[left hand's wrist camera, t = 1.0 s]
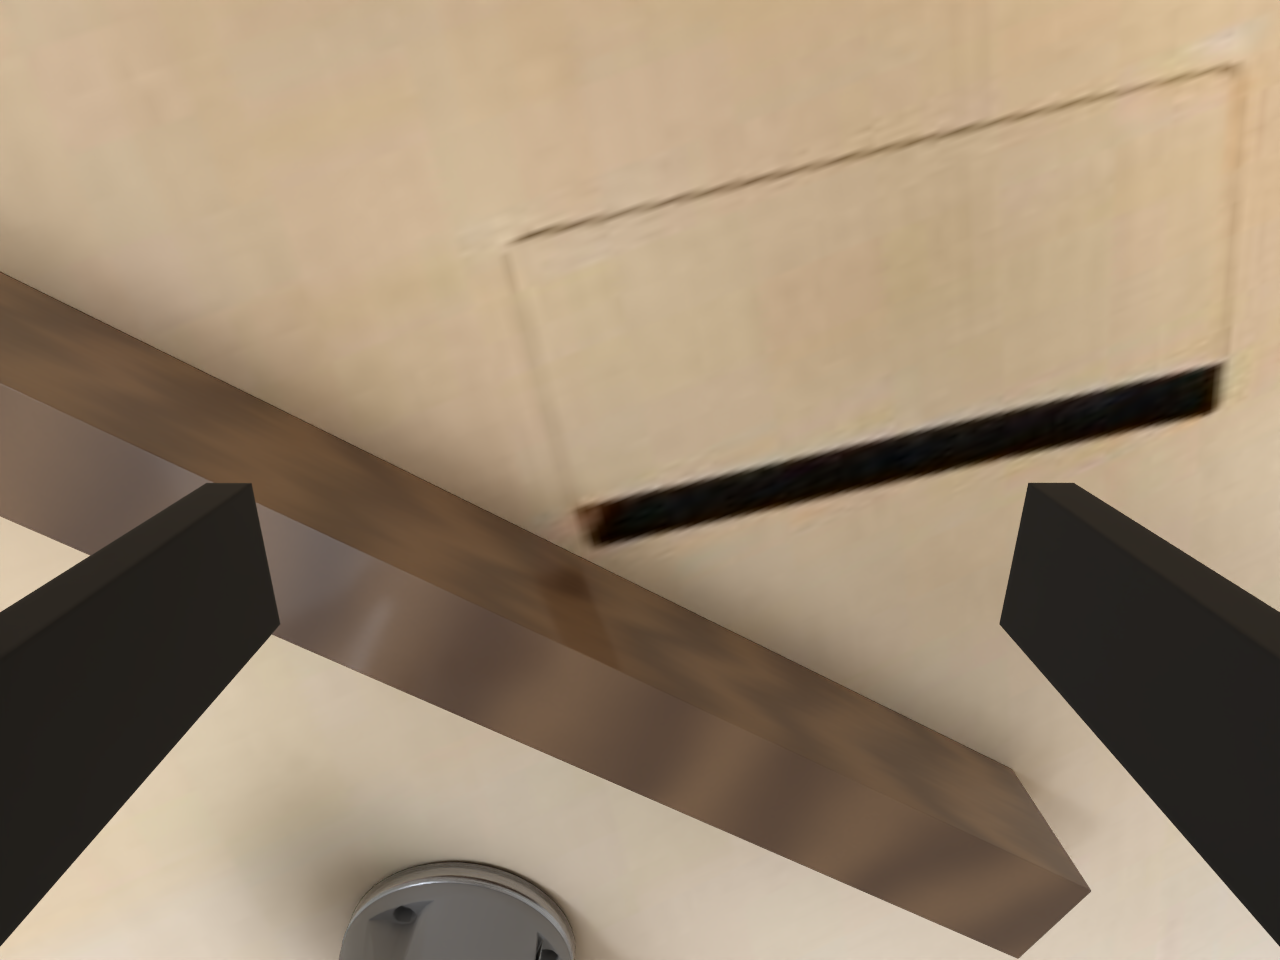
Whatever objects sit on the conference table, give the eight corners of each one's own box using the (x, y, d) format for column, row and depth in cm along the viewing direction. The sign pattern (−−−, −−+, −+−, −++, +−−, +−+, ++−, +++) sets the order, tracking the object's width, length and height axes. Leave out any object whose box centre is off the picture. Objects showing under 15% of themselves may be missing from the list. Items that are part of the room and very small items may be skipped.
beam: (1012, 769, 43) (1092, 891, 35) (954, 830, 45) (1018, 959, 37) (-122, 211, 32) (-362, 214, 24) (-139, 322, 34) (-368, 356, 26)
